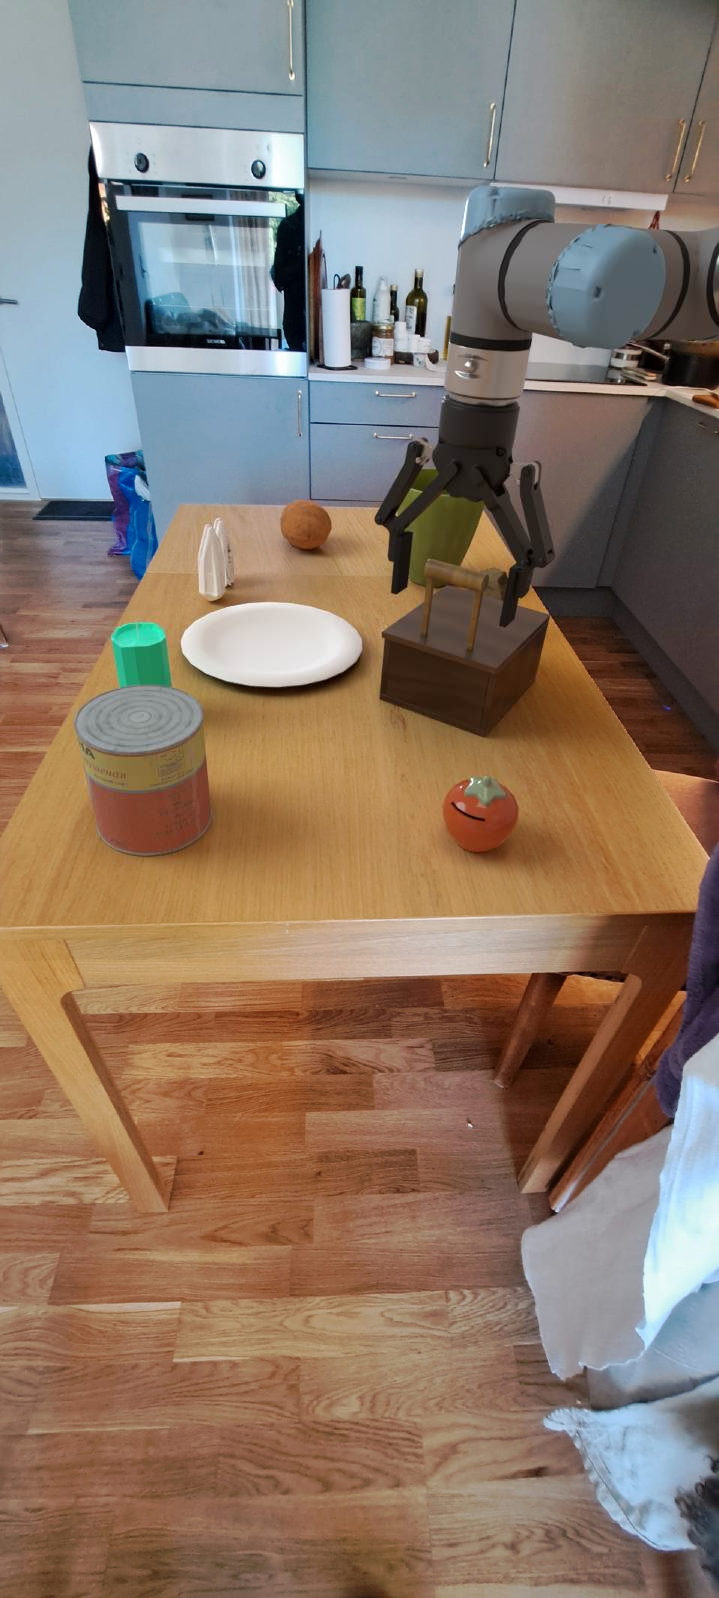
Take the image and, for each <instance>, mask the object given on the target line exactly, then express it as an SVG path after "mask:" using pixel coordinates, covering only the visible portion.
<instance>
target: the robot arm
mask: <svg viewBox="0 0 719 1598" xmlns="http://www.w3.org/2000/svg"><path fill="white" fill-rule="evenodd" d="M556 205H557V203H556V196H555V195H554V193H553V192H552V191H550V190H547V189H541V188H530V187H519V186H518V187H516V186H497V185H479V186H476V187H474V189H472V190H471V191H470V193H469V194H468V196H467V199H466V203H465V210H464V216H463V220H462V222H463V223H462V229H461V234H460V238H459V240H458V243H457V260H456V269H455V280H454V288H453V289H454V290H453V299H452V309H451V320H450V327H449V329H450V330H449V331H450V333H449V341H448V346H447V347H448V348H447V355H446V356H447V357H446V362H445V371H444V381H443V389H444V390H445V391H446V392H447V394H446V395H445V396H443V398H441V405H440V411H439V413H440V414H439V423H438V430H437V435H438V439H437V443H436V444H433V443H430V442H429V440H428V438H426V437H425V436H423V437H420V438H416V439H414V440H412V441H409V443H408V444H407V448H406V453H405V458H404V463H403V465H402V467H401V469H400V470H399V471H398V473H397V474H398V476H397V475H396V476H397V477H396V476H395V479H394V481H393V483H392V484H391V487H390V488H389V489H388V492H387V493H386V495H385V497H384V499H383V501H382V502H381V505H380V506H379V508H378V510H377V512H376V513H375V516H374V519H373V520H374V523H375V525H377V526H382V527H383V528H385V529H386V530H387V531H388V544H387V545H388V546H387V559H388V562H390V563H392V564H393V565H392V574H391V575H392V576H391V586H390V594H393V595H398V594H400V593H401V592H403V591H404V590H406V589H407V588H408V586H409V579H410V578H409V568H410V559H411V549H412V539H413V532H411V531H406V532H405V529H406V528H408V527H409V525H410V524H411V523H412V522H413V521H414V520H415V519H416V518H417V517H418V516H419V515H420V514H421V513H422V512H424V511H425V510H426V509H427V508H428V507H429V506H430V505H431V504H432V503H433V502H434V501H435V500H436V499H437V498H438V497H439V496H440V495H441V494H442V493H443V492H445V491H447V492H448V493H449V494H450V497H455V498H462V497H463V498H465V499H467V500H469V501H471V502H476V503H477V502H479V501H483V502H484V504H485V505H484V507H486V509H487V511H489V512H490V513H491V514H492V515H491V516H492V517H493V519H494V520H495V523H496V525H497V526H498V528H499V531H500V532H501V534H502V536H503V538H504V541H505V543H506V544H507V547H508V548H509V551H510V552H511V554H512V557H513V558H514V561H515V563H514V564H513V565H511V566H510V567H509V570H508V575H507V577H508V581H507V586H506V591H505V596H504V601H503V607H502V612H501V617H500V622H499V626H501V627H506V626H508V625H509V624H510V623H511V622H512V621H513V620H514V619H515V614H516V609H517V605H518V606H519V599H523V598H524V597H525V596H527V594H529V591H530V589H531V586H532V585H531V584H532V581H533V574H534V571H535V568H536V569H537V568H539V569H544V568H546V567H547V566H548V565H549V564H551V563H552V562H553V561H554V560H555V558H556V552H555V551H556V550H555V548H554V543H553V538H552V534H551V529H550V523H549V519H548V516H547V511H546V507H545V501H544V498H543V494H542V489H541V478H542V469H543V468H542V467H543V466H542V464H541V463H542V462H540V461H539V460H533V461H531V462H518V461H514V458H513V447H514V444H515V438H516V434H517V433H516V432H517V429H518V428H517V427H518V422H519V415H520V410H521V406H520V405H519V402H518V401H517V399H519V398H520V397H522V395H523V394H524V388H525V383H526V376H527V371H528V365H529V358H530V352H531V348H532V342H533V334H537V335H539V336H544V337H547V338H551V339H556V340H559V341H564V342H567V343H571V344H572V346H573V347H577V348H581V349H586V348H593V349H601V350H617V349H620V348H623V347H625V346H626V345H628V344H629V343H630V342H633V341H637V342H638V341H648V340H670V341H671V340H672V341H673V340H674V341H675V340H676V341H677V340H678V341H680V340H684V341H687V342H699V341H701V342H703V341H711V340H715V339H719V225H718V226H715V227H710V228H707V229H701V230H694V231H691V230H689V231H688V230H671V229H670V230H669V229H655V228H645V227H644V228H643V227H632V226H630V225H625V224H618V225H617V224H612V223H611V222H610V223H601V224H594V223H593V224H592V223H590V224H589V223H576V222H575V223H574V222H573V223H571V222H555V221H556V219H555V213H556ZM430 460H431V461H432V463H433V465H434V468H436V470H437V472H438V474H439V475H438V476H437V477H436V478H435V479H434V480H433V481H432V482H431V483H430V484H429V485H428V486H427V487H426V489H425V490H424V491H423V492H422V493H421V494H420V495H419V496H418V497H417V498H416V499H415V500H414V501H413V502H412V503H411V504H410V505H409V506H408V507H407V508H406V509H405V510H404V511H403V512H402V513H401V514H400V515H399V516H398V515H396V514H397V511H398V509H399V508H400V506H401V504H402V502H403V501H404V499H405V497H406V495H407V494H408V492H409V490H410V489H411V487H412V485H413V483H414V482H415V480H416V478H417V476H418V475H419V473H420V471H421V469H422V468H424V465H426V464H428V463H429V462H430ZM510 477H513V480H514V484H515V485H516V486H517V488H519V498H520V501H521V507H522V509H523V515H524V520H525V522H526V527H527V531H528V534H527V532H526V529H525V528H524V526H523V523H522V521H521V520H520V518H519V516H518V514H517V511H516V509H515V507H514V505H513V504H512V501H511V495H510V492H509V489H508V488H507V486H506V485H505V482H506V481H507V480H508V479H509V478H510Z"/></svg>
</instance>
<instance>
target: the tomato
mask: <svg viewBox="0 0 719 1598" xmlns="http://www.w3.org/2000/svg"><path fill="white" fill-rule="evenodd" d="M519 813H520V807H519V804H518V801H517V799H516V796H515V794H513V792H512V791H510V789H508V788H507V786H505V785H503V784H502V783H501V782H499V781H498V779H496V778H492V777H491V776H490V775H487V774H486V775H483V777H479V776H472V777H470V778H467V779H463V780H461V781H458V782H457V783H456V784H454V785H453V786H451V788H450V789H449V790H448V792H447V793H446V794H445V796H444V799H443V803H442V818H443V821H444V825H445V829H446V831H447V832H448V835H449V836H450V837H451V839H452V840H453V842H455V844H457V845H458V847H460V848H462V849H463V850H465V851H468V852H471V853H484V852H488V851H492V850H494V849H496V848H497V847H499V846H500V845H502V844H503V843H505V842H506V841H507V839H508V838H509V837H510V836H511V835H512V834H513V832H514V831H515V829H516V826H517V825H518V822H519V815H520V814H519Z"/></svg>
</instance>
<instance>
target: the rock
mask: <svg viewBox="0 0 719 1598" xmlns="http://www.w3.org/2000/svg"><path fill="white" fill-rule="evenodd" d="M479 572H481V573H485V574H488V575H489V582H488V585H487V588H486V590H485V591H484V592H483V596H487V597H490V598H494V599H497V600H501V601H504V596H505V591H506V586H507V581H508V574H507V572H506V571H504V570H501V569H500V568H498V567H490V568H486V569H481V570H480V571H479ZM461 589H462V590H466V591H469V592H473V593H475V592H476V591H474V590H471V589H467V588H464V587H462V588H461Z"/></svg>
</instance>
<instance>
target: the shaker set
mask: <svg viewBox="0 0 719 1598" xmlns="http://www.w3.org/2000/svg"><path fill="white" fill-rule="evenodd" d="M203 528H204V529H203V532H202V536H201V540H200V545H199V549H198V553H197V570H198V571H197V572H198V573H197V575H198V593H199V595H201V596H202V597H203V598H204V599H205V600H207V602H213V601H216V600H219V599H221V598H222V597H223V596H224V594H225V593H226V587H228V585H229V586H232V584H235V561H234V548H233V545H232V541H231V538H230V535H229V532H228V529H227V527H226V524H225V522H224V521H223V520H222V519H221V518H219V517H218V518H215V520H214V522H213V526H212V525H211V524H210V523H207V524H205V525H204V527H203Z"/></svg>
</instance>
